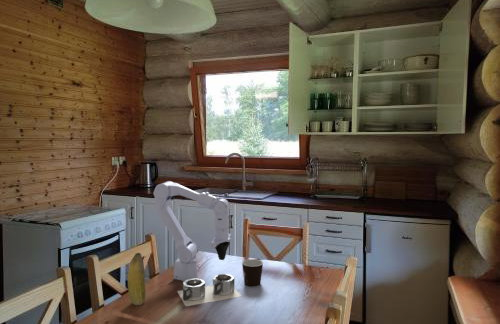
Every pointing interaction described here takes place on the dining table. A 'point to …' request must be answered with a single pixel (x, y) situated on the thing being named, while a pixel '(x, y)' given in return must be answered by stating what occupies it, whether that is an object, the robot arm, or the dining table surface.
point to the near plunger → (194, 283)
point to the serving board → (209, 296)
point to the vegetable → (136, 280)
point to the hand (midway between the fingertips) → (221, 259)
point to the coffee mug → (252, 272)
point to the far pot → (223, 285)
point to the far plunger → (223, 278)
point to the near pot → (193, 290)
